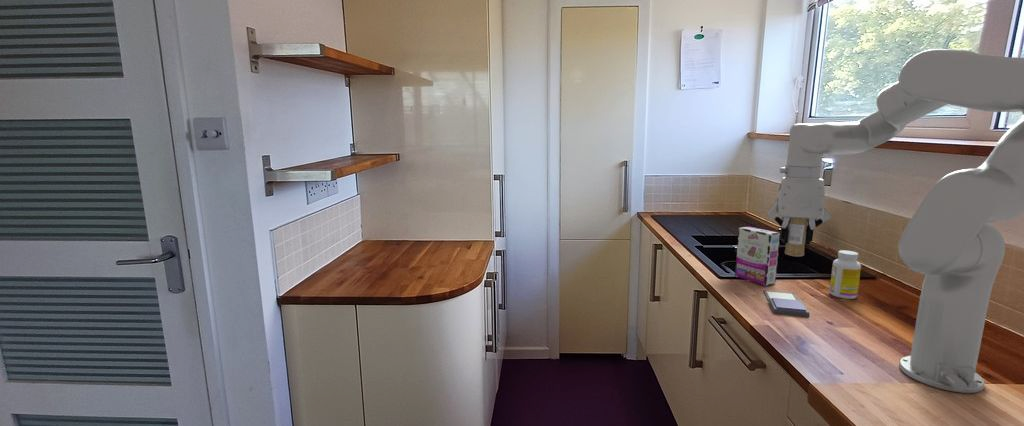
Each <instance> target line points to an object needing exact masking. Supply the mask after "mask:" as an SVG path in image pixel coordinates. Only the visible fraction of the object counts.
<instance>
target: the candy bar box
mask: <svg viewBox="0 0 1024 426" xmlns="http://www.w3.org/2000/svg"><path fill="white" fill-rule="evenodd" d="M737 234H738V235H737V246H736V248H737V249H736V259H735V260H736V261H735V271H734V277H735V276H738V277H739V278H738V277H737V278H738V279H742V280H744V281H747V280H748V282H750V281H751V282H750V283H754V284H757V285H760V286H763V287H769V286H772V285H776V282H777V281H776V280H777V270H778V269H777V268H778V261H779V249H780V240H781V239H780V232H778V231H772V230H768V229H762V228H757V227H753V226H743V227H738V233H737Z"/></svg>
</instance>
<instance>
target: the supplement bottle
mask: <svg viewBox="0 0 1024 426" xmlns="http://www.w3.org/2000/svg"><path fill="white" fill-rule="evenodd" d="M837 256H838V258H836V259H834V260H833V262H832V267H831V277H830V285H829V293H830V295H832V296H834V297H836V298H840V299H843V300H844V299H845V300H853V299H854V300H855V299H856V298H857V297H858V294H859V293H858V292H859V287H860V279H861V272H862V271H861V270H862V265H861V263H860V262H859V261H857V260H858V259H859V253H858V252H856V251H852V250H845V249H843V250H842V249H841V250H839V251H838V252H837Z"/></svg>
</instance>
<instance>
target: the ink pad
mask: <svg viewBox="0 0 1024 426" xmlns="http://www.w3.org/2000/svg"><path fill="white" fill-rule="evenodd" d="M768 303H769V305H770V307H771V310H772V311H773V313H774V314H779V315H785V316H786V315H788V316H797V317H805V318H806V317H807V318H810V314H811V313H810V311H809V310H808V308H807V307H806V305H805V304H804V302H803V301H801V300H800V299H798V300H790V299H779V298H769V301H768Z"/></svg>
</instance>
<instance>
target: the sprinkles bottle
mask: <svg viewBox="0 0 1024 426" xmlns="http://www.w3.org/2000/svg"><path fill="white" fill-rule="evenodd" d="M787 226H788V227H787V228H788V229H789V232H788V242H787V243H785V249H784V254H785V255H787V256H791V257H798V258H799V257H803V256H805V248H806V247H805V246H806V244H805V242H806V229H807V219H806V218H790V219H789V222H788V225H787Z"/></svg>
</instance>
